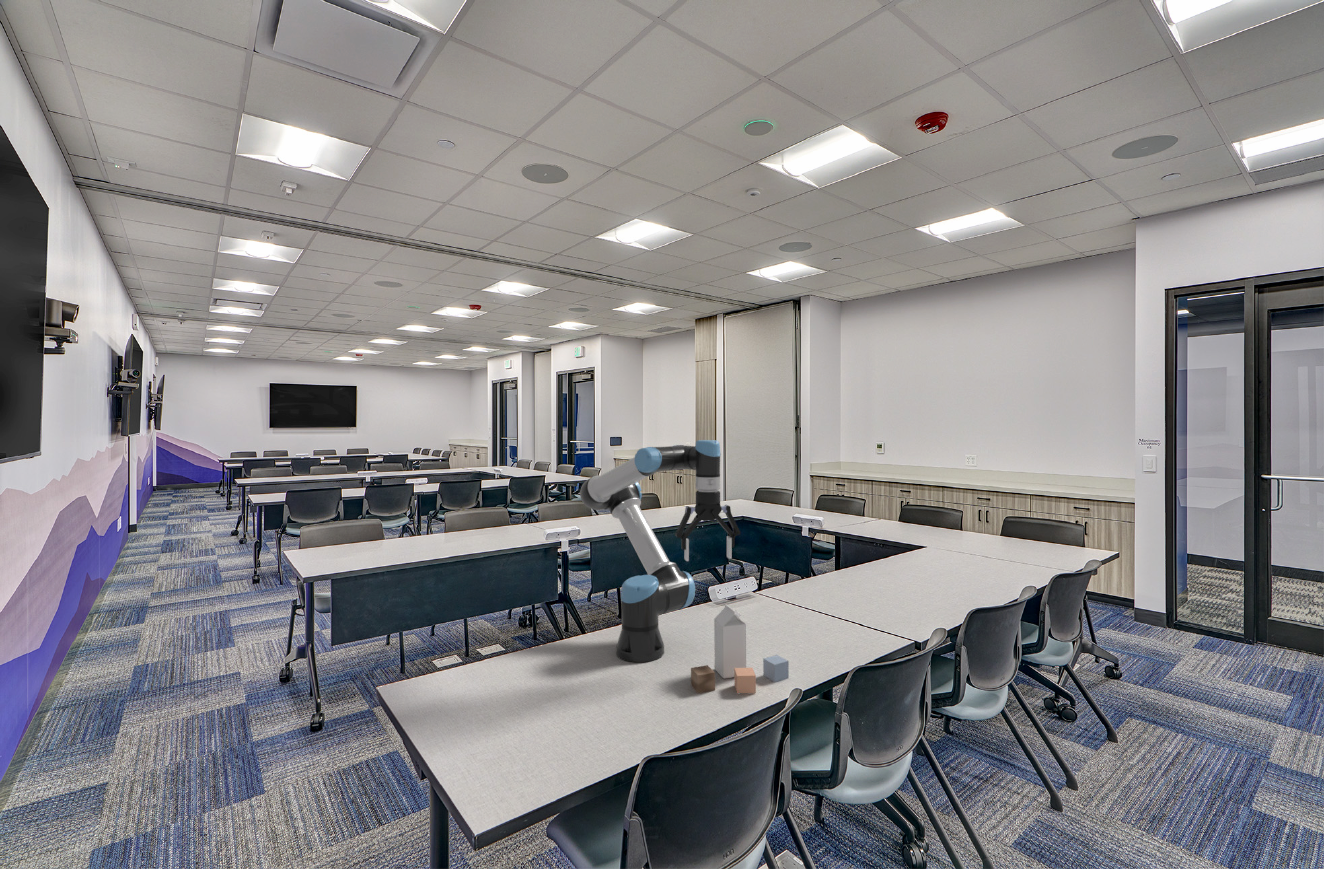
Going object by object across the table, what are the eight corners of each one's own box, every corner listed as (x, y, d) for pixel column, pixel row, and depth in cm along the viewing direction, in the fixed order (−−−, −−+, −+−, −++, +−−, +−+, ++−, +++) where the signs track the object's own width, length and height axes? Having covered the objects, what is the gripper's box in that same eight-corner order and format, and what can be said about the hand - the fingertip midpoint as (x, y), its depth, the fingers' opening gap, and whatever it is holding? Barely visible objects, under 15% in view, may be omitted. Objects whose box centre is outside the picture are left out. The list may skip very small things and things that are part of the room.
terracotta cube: (737, 694, 154) (737, 676, 154) (734, 685, 159) (734, 668, 159) (755, 694, 154) (755, 675, 154) (752, 685, 159) (752, 667, 159)
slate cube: (774, 682, 161) (774, 664, 161) (763, 675, 165) (763, 658, 165) (788, 678, 163) (788, 661, 163) (776, 672, 168) (776, 654, 168)
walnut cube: (698, 693, 155) (697, 675, 155) (691, 685, 160) (690, 668, 159) (715, 690, 156) (714, 672, 156) (707, 683, 161) (707, 665, 161)
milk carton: (723, 679, 163) (722, 612, 163) (714, 669, 170) (713, 605, 170) (746, 676, 165) (746, 610, 165) (736, 666, 172) (736, 602, 171)
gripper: (670, 493, 171) (671, 564, 172) (750, 490, 176) (750, 559, 177) (665, 490, 178) (666, 558, 179) (742, 487, 183) (742, 554, 184)
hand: (708, 559), depth 178 cm, fingers open, 13 cm apart
